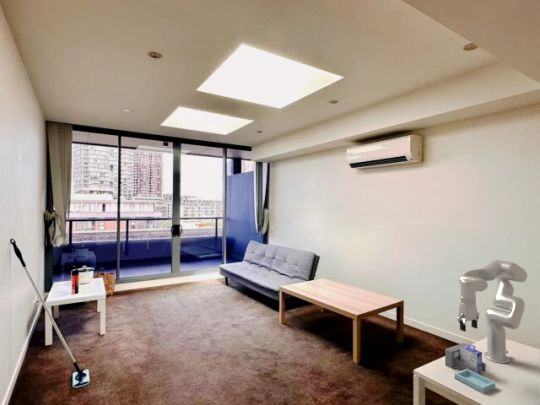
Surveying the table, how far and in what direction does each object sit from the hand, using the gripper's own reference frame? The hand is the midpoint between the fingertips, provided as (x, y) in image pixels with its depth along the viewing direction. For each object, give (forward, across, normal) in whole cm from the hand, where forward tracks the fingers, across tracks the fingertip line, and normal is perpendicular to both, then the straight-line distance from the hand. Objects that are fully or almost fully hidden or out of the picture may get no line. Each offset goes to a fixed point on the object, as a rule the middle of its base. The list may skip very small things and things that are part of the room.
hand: (468, 329), depth 180 cm
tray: (+24, +10, +10) cm, 28 cm away
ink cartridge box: (+25, -1, 0) cm, 25 cm away
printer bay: (+25, -1, -2) cm, 25 cm away
